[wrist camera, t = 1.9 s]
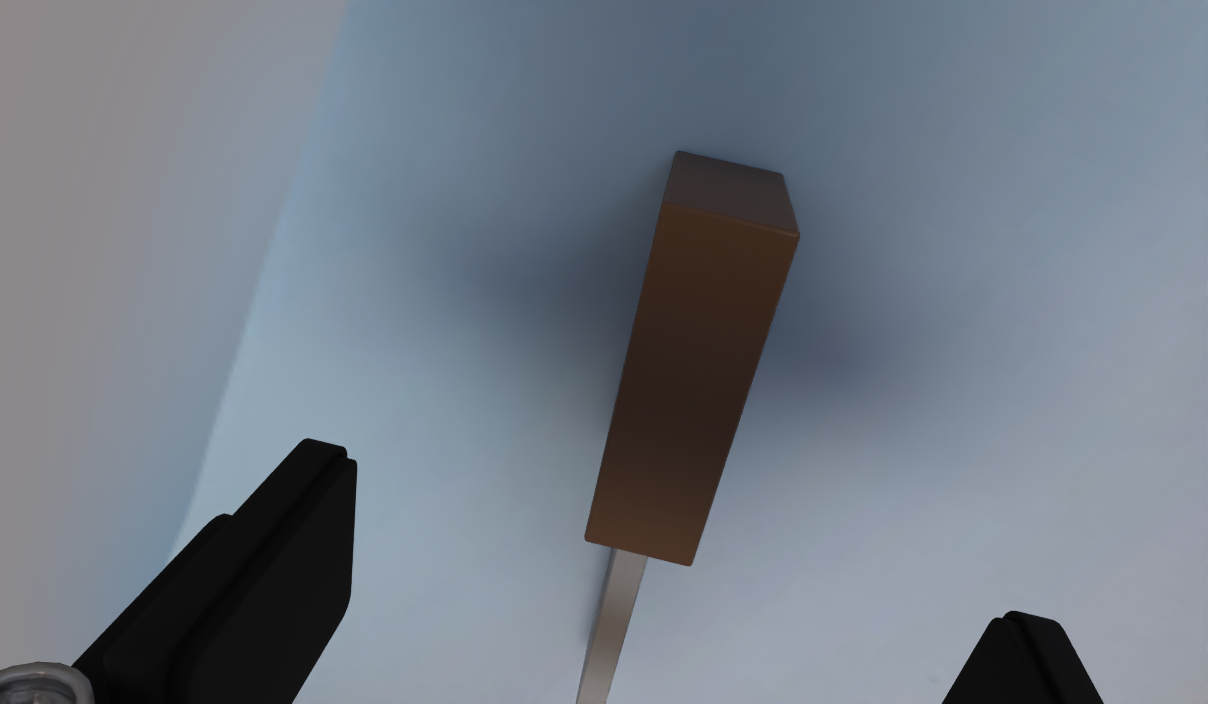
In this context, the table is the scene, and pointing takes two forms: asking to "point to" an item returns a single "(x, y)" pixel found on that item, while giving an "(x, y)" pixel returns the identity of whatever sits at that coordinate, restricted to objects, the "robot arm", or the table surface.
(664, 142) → the table surface
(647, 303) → the knife
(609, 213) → the table surface
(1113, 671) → the table surface
